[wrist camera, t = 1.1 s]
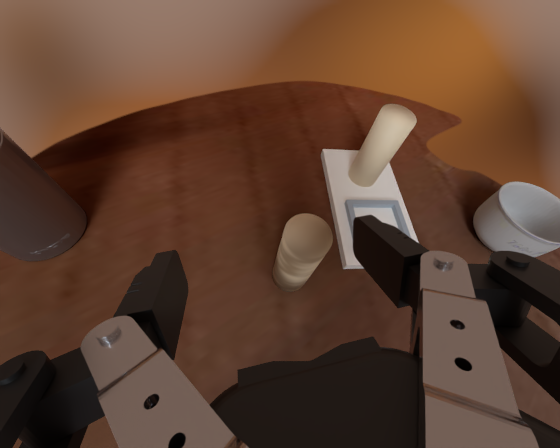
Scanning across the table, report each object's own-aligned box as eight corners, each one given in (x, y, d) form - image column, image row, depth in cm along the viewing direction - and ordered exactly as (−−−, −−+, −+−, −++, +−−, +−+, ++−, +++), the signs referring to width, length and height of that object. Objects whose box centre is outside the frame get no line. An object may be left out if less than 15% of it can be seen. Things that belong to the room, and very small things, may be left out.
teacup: (482, 268, 39) (534, 247, 32) (450, 209, 44) (488, 180, 37) (554, 260, 41) (616, 239, 34) (515, 205, 46) (562, 177, 40)
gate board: (419, 267, 38) (498, 222, 26) (343, 268, 36) (389, 221, 24) (381, 157, 48) (424, 90, 37) (320, 155, 47) (345, 84, 35)
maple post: (264, 272, 34) (273, 231, 24) (289, 251, 36) (307, 205, 26) (289, 299, 33) (310, 268, 23) (313, 275, 35) (342, 237, 25)
